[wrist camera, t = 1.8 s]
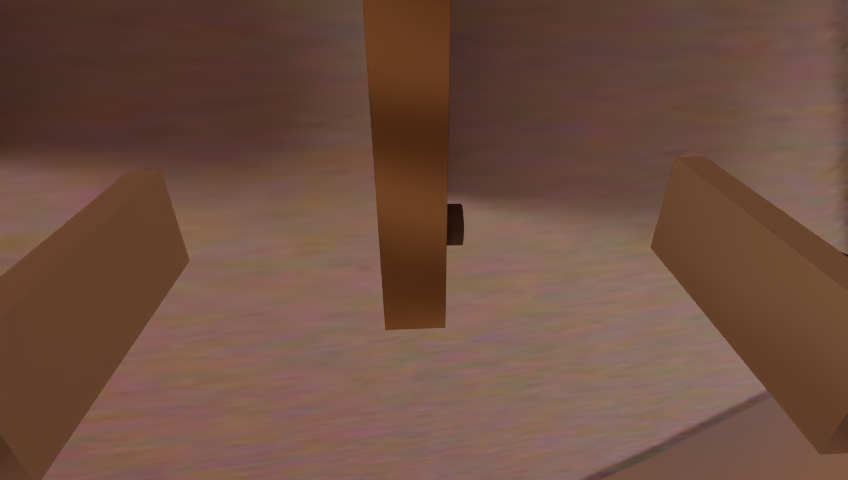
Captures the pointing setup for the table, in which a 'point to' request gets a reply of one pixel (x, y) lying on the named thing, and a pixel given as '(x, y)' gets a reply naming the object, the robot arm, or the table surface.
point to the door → (411, 155)
